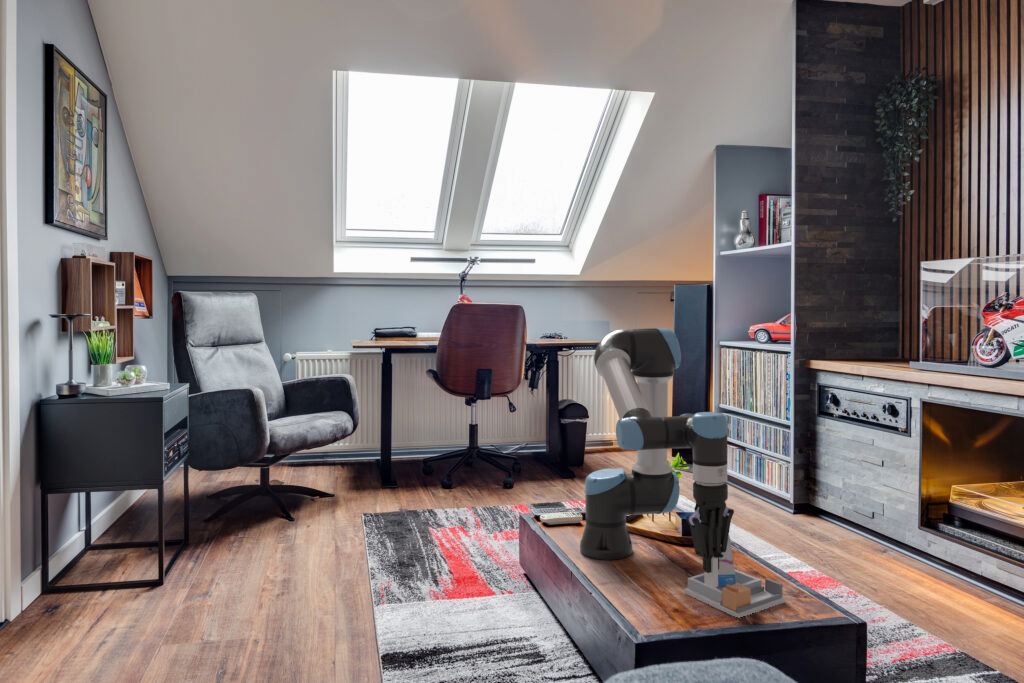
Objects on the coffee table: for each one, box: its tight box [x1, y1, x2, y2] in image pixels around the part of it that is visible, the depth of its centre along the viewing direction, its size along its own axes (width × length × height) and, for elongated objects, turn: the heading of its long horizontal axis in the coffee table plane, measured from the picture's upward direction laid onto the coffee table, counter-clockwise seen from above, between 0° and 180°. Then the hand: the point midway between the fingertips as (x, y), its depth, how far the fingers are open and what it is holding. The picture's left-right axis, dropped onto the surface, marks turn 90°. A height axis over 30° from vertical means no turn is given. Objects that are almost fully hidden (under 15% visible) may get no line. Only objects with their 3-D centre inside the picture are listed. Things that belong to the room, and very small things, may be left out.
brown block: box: [722, 583, 751, 611], centre depth 168 cm, size 4×5×5 cm
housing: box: [684, 568, 786, 619], centre depth 175 cm, size 17×16×4 cm
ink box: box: [718, 535, 736, 587], centre depth 179 cm, size 9×5×12 cm, turn 166°
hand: (711, 585), depth 162 cm, fingers closed
